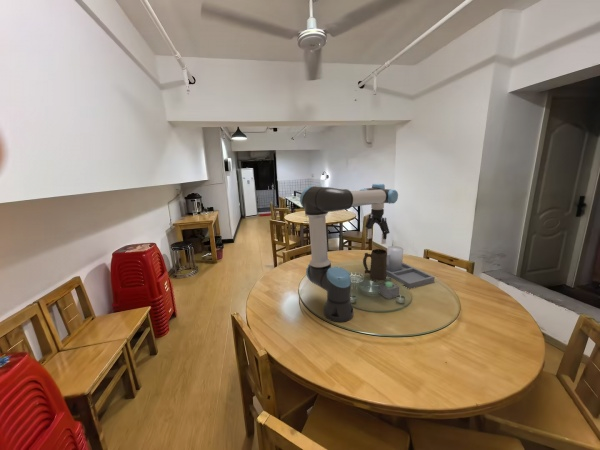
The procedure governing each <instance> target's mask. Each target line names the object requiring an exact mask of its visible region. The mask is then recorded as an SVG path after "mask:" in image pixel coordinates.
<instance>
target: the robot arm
mask: <svg viewBox="0 0 600 450" xmlns="http://www.w3.org/2000/svg"><path fill="white" fill-rule="evenodd" d="M385 187H386V186H385V184H384V183H373V184H372V185H371V187H367V188H361V189H359V190H352V191H351V190H349V189H346V188H345V189H343V188H334V187H329V186H328V187H327V186H316V185H315V186H308V187H306V188H304V189H303V191H302V192H301V194H300V196H299V202H300V205H301V206H302V208H303V209H304V211H305V216H307V218H308V224H309V239H310V250H311V251H310V252H311V260H309V264H307V267H306V270H305V271H306V272H305V273H306V274H305V275H306V277H307V279H308V281H310V282H311V283H312V284H314V285H315V286H318V287H320V288H321V289H323V290H324V291H326V301H325V304H324V307H323V315H324V316H325V318H327V319H328V320H330V321H332V322H336V323H344V322H347V321H350V320H351V319H352V318H354V307H353V305H352V301H351V284H352V279H351V274H350V272H349V271H348V270H347V269H346V268H343V267H341V266H340V267H339V266H332V261H331V260H330V259H329V258H328V257H329V256H328V242H327V241H328V238H327V223H326V216H327V215H328V213H330V212H337V211H344V210H349V209H351V208H352V207H360V206H361V207H362V206H368V205H369V206H370V205H371V206H370V208H371V210H370V211H371V213H370V214H369V215H368V218H367V222H366V224H365V228H367V239H369V240H370V239H373V237H372V235H373V227H374V225H375V224H377V225H378V226H379V228H380V230H381V232H382V233H381V243H380V244H381V245H385V244H387V243H386V242H387V236H388V234H390V230H389V226H388V222H387V217H383V216H384V214H385V204H390V205H391V204H395V203H396V202H397V201H398V200H399V198H398V197H399V193H398V191H397V190H396V189H392V188H390V189H389V188H387V189H385Z"/></svg>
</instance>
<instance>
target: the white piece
mask: <svg viewBox="0 0 600 450" xmlns="http://www.w3.org/2000/svg"><path fill="white" fill-rule="evenodd" d="M386 251H387V270H388V271H390V272H395V271H400V270H402V262H403V263H404V261H403V259H404V248H403V247H402V246H397V245H390V246H388V247H387V249H386Z"/></svg>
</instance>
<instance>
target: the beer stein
mask: <svg viewBox="0 0 600 450" xmlns="http://www.w3.org/2000/svg"><path fill="white" fill-rule="evenodd" d="M368 258H370V270H369V268H368V264H367V259H368ZM362 265H363V267H364V274H365V275H366V274H369V276H370V277H369V279H370V280H371V279H372V280H371V281H373V280H375V281H377V282H382V281H386V280H387V279H386V277H387V276H388V275H387V274H386V270H387V250H385V249H382V248H381V249H380V248H376V249H372V250H371V253H368V252H365V253H364V257H363V259H362ZM385 279H386V280H385ZM375 281H374V282H375Z"/></svg>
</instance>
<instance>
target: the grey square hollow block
mask: <svg viewBox="0 0 600 450" xmlns="http://www.w3.org/2000/svg"><path fill="white" fill-rule="evenodd" d="M386 282H392V281H390V280H388V281H384V282H378V291H379V292H380V295H381V296H382V297H384V298H385V299H387V300H391V299H394V298H397V297H396V296H398V295H399V296H400V286H399V285H397V284H395V283H394V282H392V283H393V286H392V287H389V288H388V287H387V286H385V285H386ZM378 291H377V292H378ZM399 296H398V297H399Z"/></svg>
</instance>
